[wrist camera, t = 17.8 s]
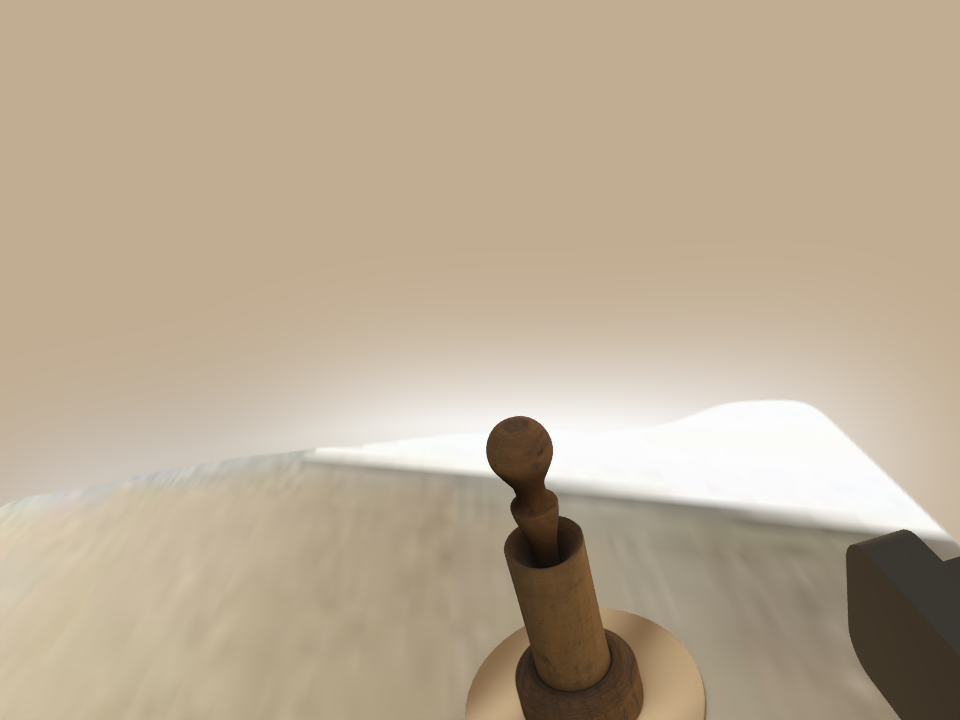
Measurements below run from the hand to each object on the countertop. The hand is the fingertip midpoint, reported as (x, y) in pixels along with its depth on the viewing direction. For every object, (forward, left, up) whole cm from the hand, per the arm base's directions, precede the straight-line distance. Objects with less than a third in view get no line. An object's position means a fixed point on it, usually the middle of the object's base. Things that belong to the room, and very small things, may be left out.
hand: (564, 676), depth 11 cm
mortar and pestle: (-16, +19, -30) cm, 39 cm away
